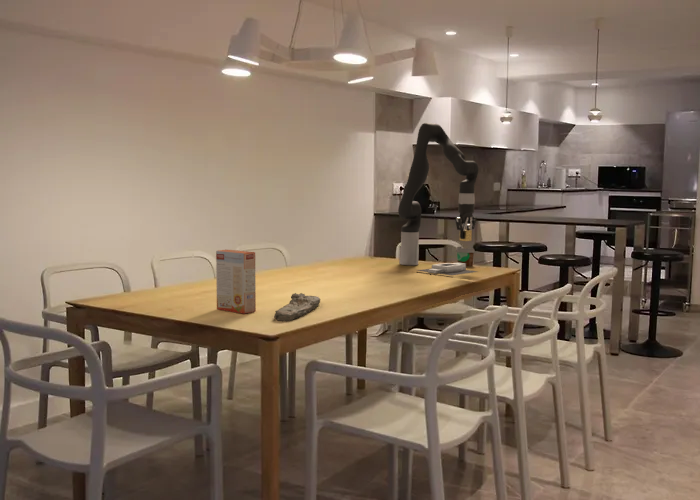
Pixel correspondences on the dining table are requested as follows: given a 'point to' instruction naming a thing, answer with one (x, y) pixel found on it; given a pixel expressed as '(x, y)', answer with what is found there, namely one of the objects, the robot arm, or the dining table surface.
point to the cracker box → (236, 281)
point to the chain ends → (447, 268)
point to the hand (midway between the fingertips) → (465, 238)
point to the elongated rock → (297, 307)
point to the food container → (465, 255)
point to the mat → (448, 273)
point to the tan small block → (467, 235)
